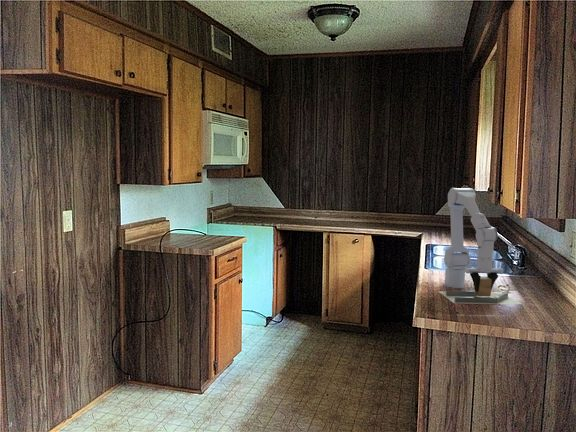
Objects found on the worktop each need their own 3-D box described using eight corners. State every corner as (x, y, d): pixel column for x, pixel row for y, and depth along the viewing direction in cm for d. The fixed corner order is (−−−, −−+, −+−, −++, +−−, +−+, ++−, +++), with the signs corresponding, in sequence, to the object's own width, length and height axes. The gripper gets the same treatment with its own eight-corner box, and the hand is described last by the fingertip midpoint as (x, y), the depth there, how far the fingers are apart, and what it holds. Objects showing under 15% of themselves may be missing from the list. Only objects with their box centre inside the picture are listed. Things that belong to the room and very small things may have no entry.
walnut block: (474, 293, 202) (475, 276, 201) (485, 293, 202) (486, 276, 201) (479, 296, 198) (480, 279, 197) (490, 296, 198) (491, 279, 197)
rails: (441, 291, 210) (441, 287, 210) (499, 292, 211) (499, 287, 211) (455, 302, 194) (456, 297, 194) (518, 303, 195) (518, 298, 195)
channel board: (438, 292, 211) (438, 291, 211) (500, 293, 212) (501, 291, 212) (454, 304, 193) (454, 303, 193) (522, 305, 194) (522, 303, 194)
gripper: (471, 259, 194) (468, 293, 195) (507, 259, 195) (505, 293, 196) (464, 255, 201) (461, 288, 202) (499, 256, 202) (497, 289, 203)
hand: (482, 291), depth 200 cm, fingers closed on walnut block, 4 cm apart
